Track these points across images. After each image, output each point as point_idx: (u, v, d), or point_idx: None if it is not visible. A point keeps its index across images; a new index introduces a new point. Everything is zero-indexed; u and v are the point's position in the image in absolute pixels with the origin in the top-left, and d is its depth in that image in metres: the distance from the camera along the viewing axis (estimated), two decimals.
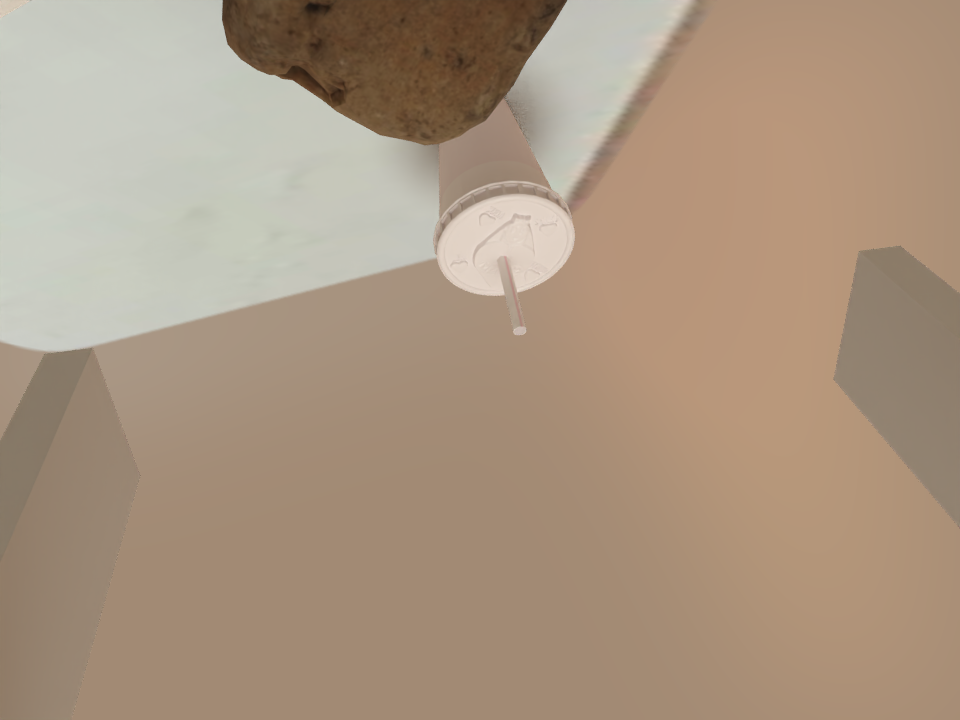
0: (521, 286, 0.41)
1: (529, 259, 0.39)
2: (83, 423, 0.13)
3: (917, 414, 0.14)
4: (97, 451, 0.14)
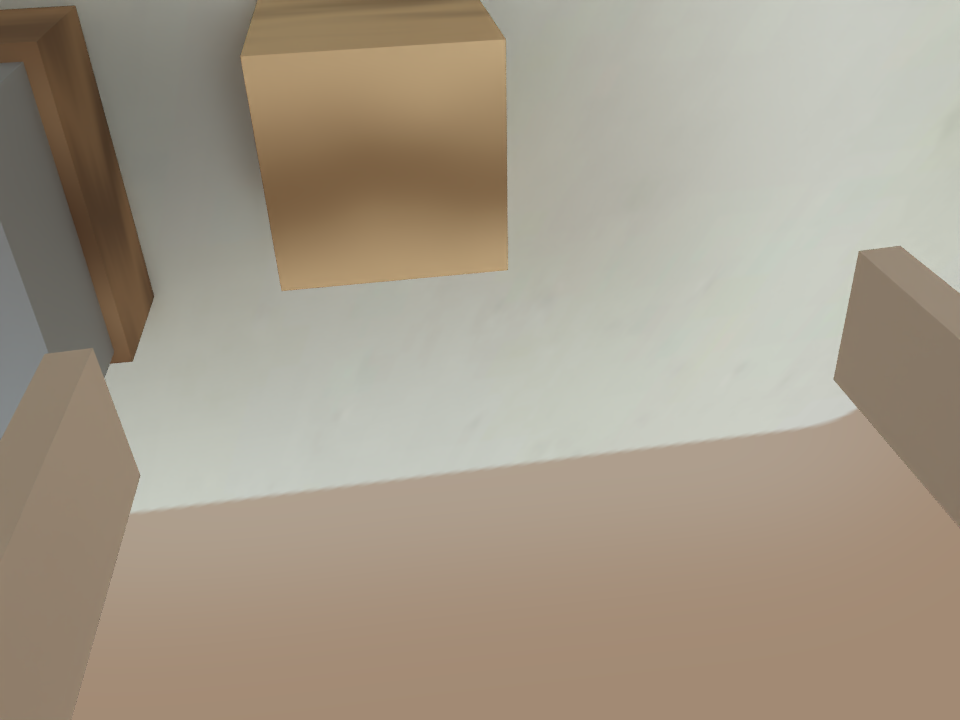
0: None
1: None
2: (83, 422, 0.13)
3: (917, 414, 0.14)
4: (97, 451, 0.14)
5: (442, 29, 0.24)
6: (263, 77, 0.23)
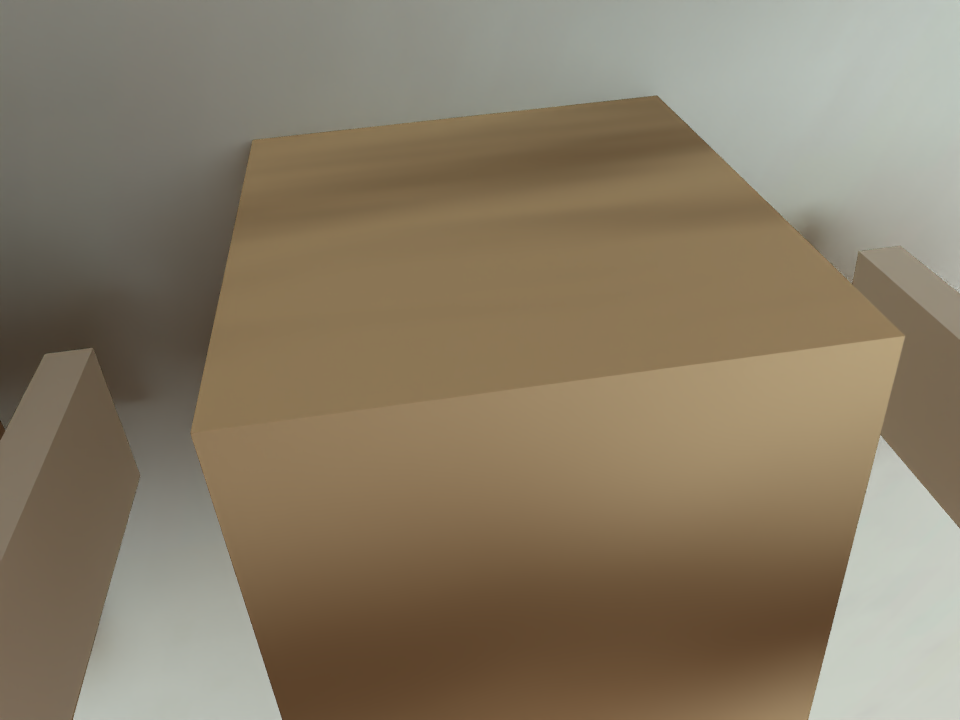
0: None
1: None
2: (83, 423, 0.13)
3: (917, 414, 0.14)
4: (97, 451, 0.14)
5: (702, 283, 0.10)
6: (256, 471, 0.08)
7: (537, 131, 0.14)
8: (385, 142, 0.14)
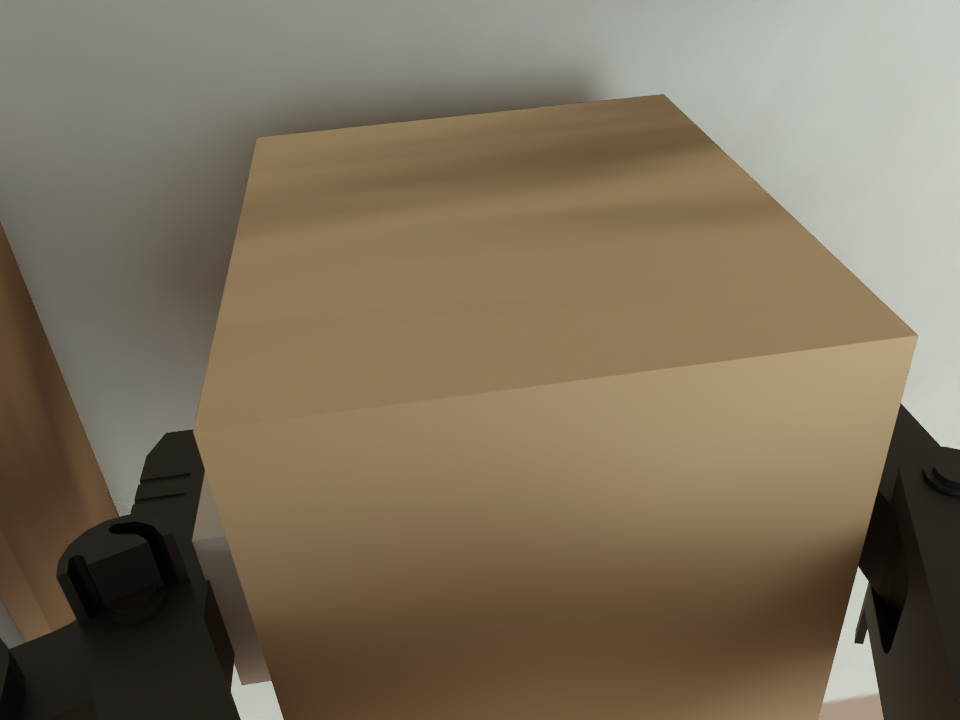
0: None
1: None
2: None
3: None
4: None
5: (711, 282, 0.10)
6: (259, 471, 0.08)
7: (544, 130, 0.14)
8: (390, 141, 0.14)
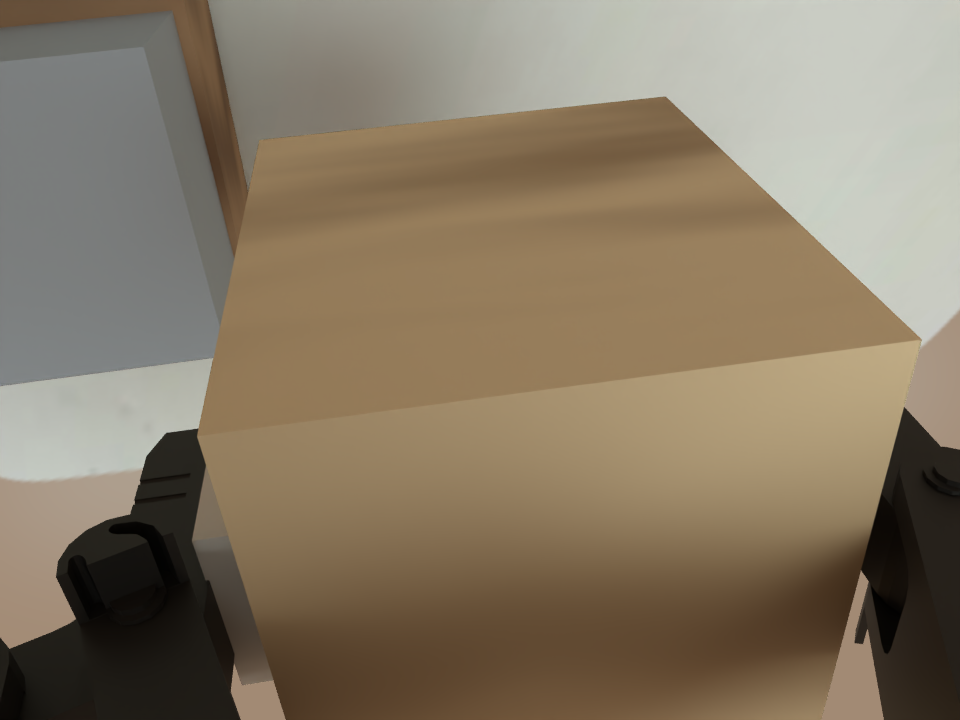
0: None
1: None
2: None
3: None
4: None
5: (714, 286, 0.10)
6: (263, 474, 0.08)
7: (546, 132, 0.14)
8: (393, 143, 0.14)
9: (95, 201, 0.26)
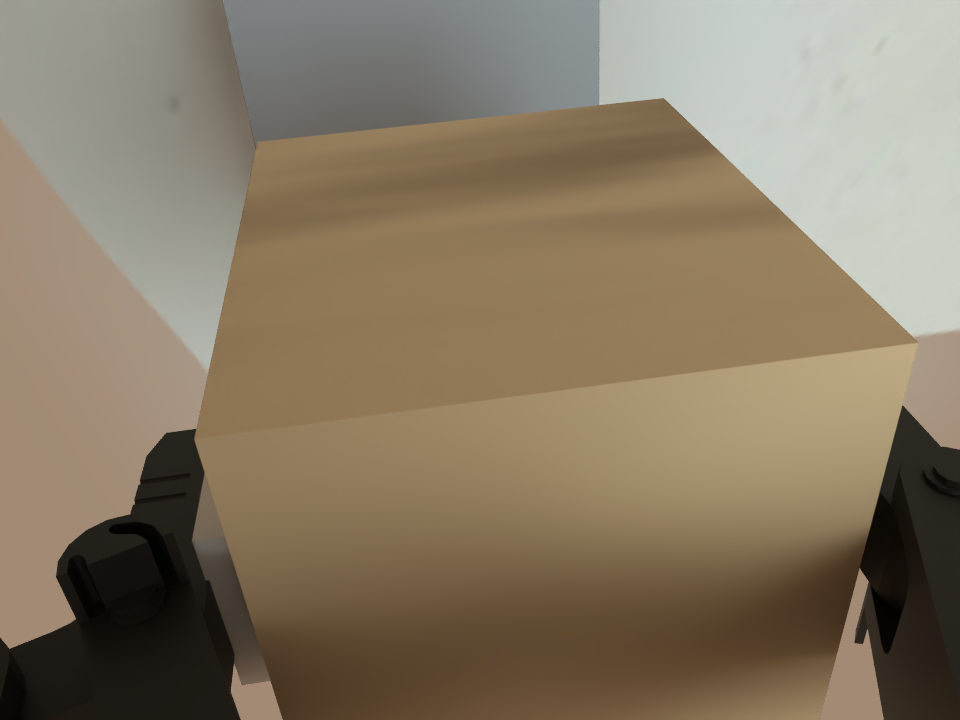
0: None
1: None
2: None
3: None
4: None
5: (711, 288, 0.10)
6: (261, 477, 0.08)
7: (544, 134, 0.14)
8: (391, 145, 0.14)
9: (512, 89, 0.25)
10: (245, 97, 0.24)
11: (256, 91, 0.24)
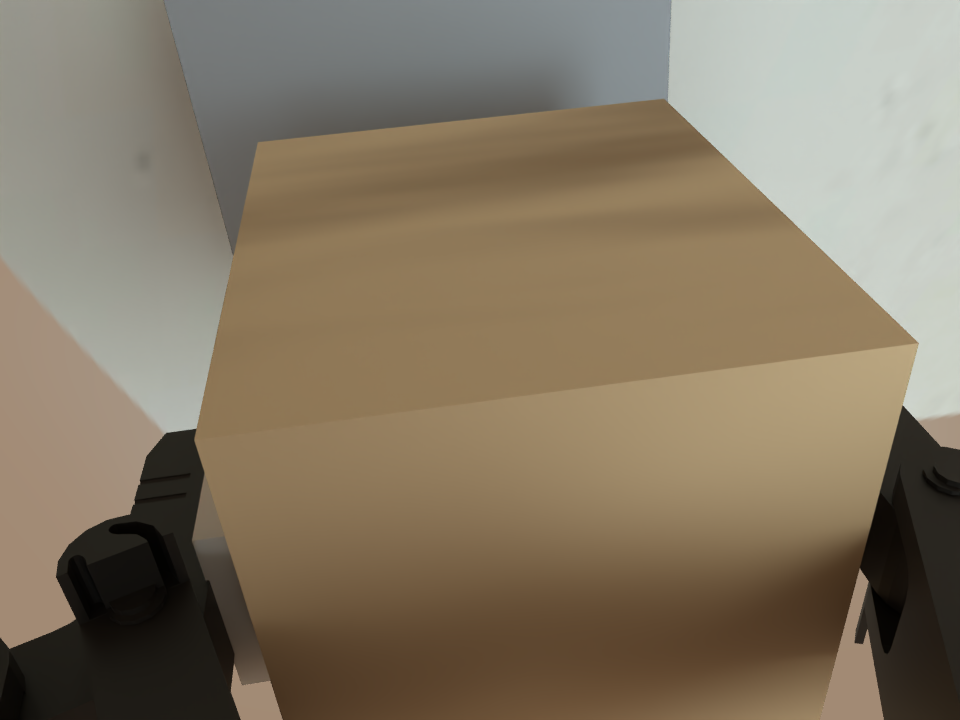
0: None
1: None
2: None
3: None
4: None
5: (711, 289, 0.10)
6: (261, 479, 0.08)
7: (545, 134, 0.14)
8: (391, 145, 0.14)
9: None
10: (212, 174, 0.19)
11: (226, 167, 0.18)
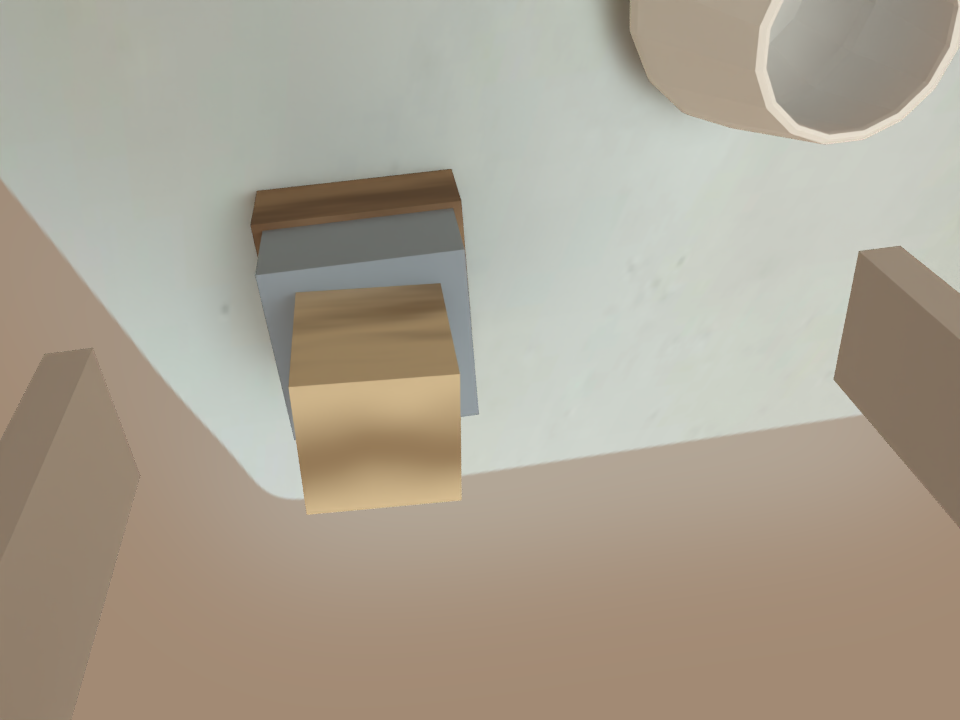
0: None
1: None
2: (83, 423, 0.13)
3: (917, 414, 0.14)
4: (97, 451, 0.14)
5: (419, 357, 0.37)
6: (302, 397, 0.36)
7: (393, 297, 0.41)
8: (341, 298, 0.41)
9: None
10: (271, 338, 0.43)
11: (277, 335, 0.43)
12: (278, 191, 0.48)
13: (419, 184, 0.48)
